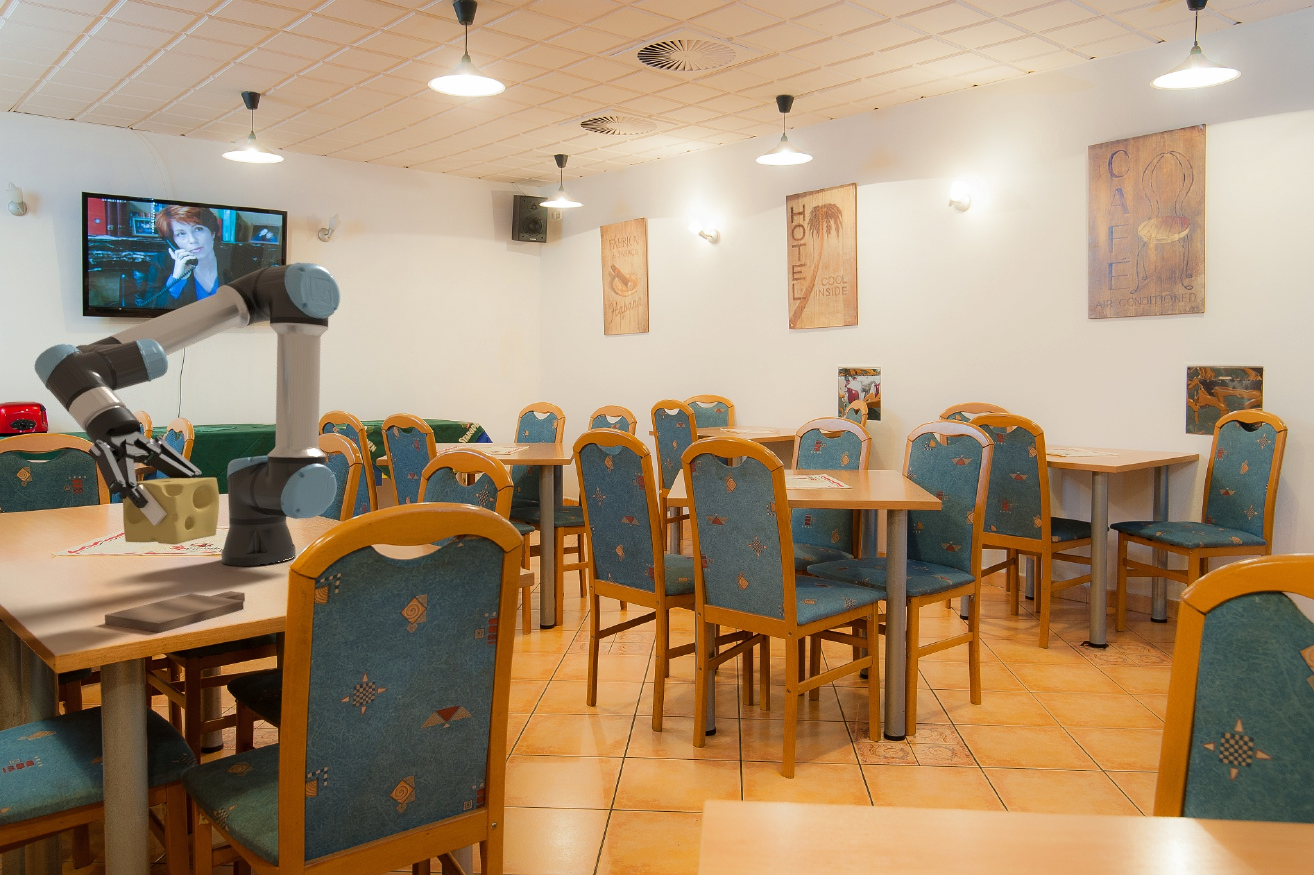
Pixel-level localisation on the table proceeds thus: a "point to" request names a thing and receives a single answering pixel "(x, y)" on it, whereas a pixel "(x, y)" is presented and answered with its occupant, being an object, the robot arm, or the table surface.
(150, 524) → the cheese
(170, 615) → the board
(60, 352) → the robot arm
